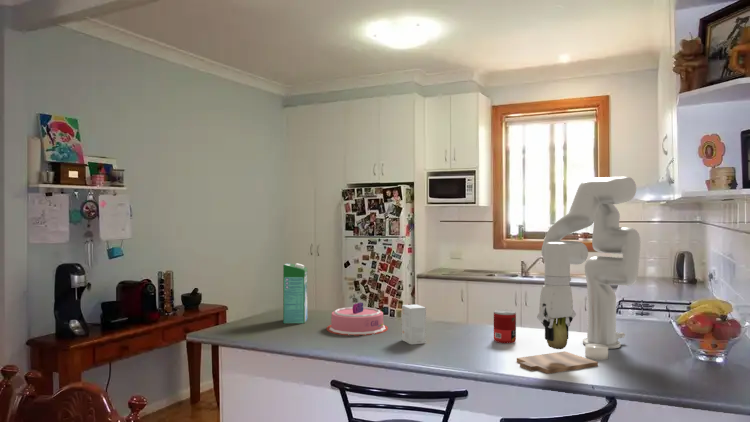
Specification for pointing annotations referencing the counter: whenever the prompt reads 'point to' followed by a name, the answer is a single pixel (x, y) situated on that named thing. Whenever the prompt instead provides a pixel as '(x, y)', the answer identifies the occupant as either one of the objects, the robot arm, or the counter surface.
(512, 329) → the canned food
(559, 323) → the fennel bulb
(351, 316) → the cake
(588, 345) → the white rounded block
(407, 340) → the small box
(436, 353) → the counter surface
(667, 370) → the counter surface
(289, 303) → the milk carton
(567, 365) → the board
